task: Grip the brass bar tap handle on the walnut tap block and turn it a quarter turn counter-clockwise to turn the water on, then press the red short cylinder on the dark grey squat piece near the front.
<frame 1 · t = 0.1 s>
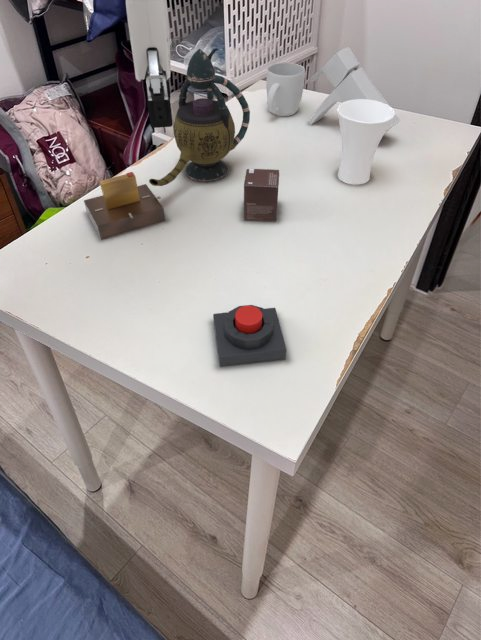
hand: (161, 112, 72), 19 cm above the table, tool pointing down, fingers open, 9 cm apart
cup: (353, 177, 96), on the table
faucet: (348, 132, 110), on the table
teapot: (196, 179, 95), on the table
mug: (280, 115, 117), on the table
red short cylinder: (248, 319, 62), point 4 cm above the table, slide at 0.1 cm
tap block: (126, 217, 86), on the table
tap handle: (120, 190, 82), point 6 cm above the table, hinge at 0.0°
box: (260, 213, 87), on the table
dark grey squat piece: (248, 341, 65), on the table
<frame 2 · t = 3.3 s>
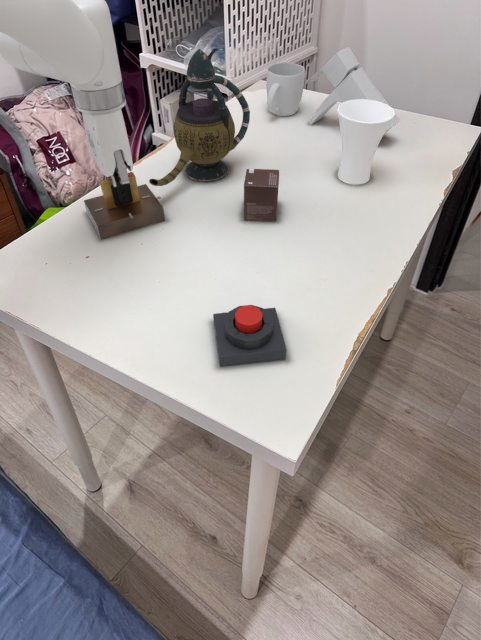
hand: (122, 200, 83), 4 cm above the table, tool pointing down, fingers closed
tap handle: (120, 190, 82), point 6 cm above the table, hinge at 0.0°, touching gripper
everything else where it was.
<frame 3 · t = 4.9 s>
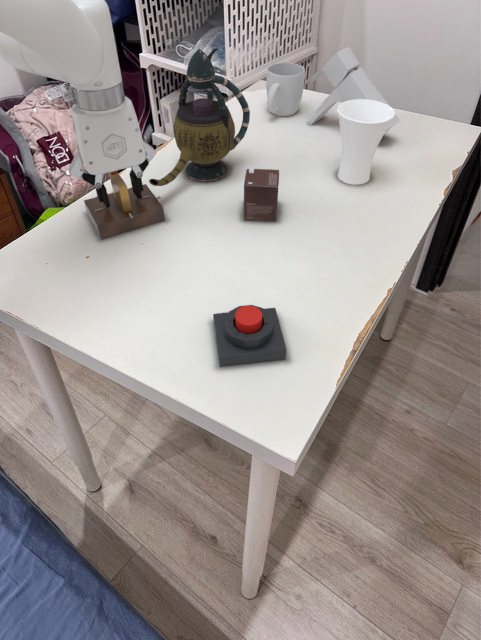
hand: (121, 198, 83), 4 cm above the table, tool pointing down, fingers open, 5 cm apart
tap handle: (120, 190, 82), point 6 cm above the table, hinge at 89.9°
everything else where it was.
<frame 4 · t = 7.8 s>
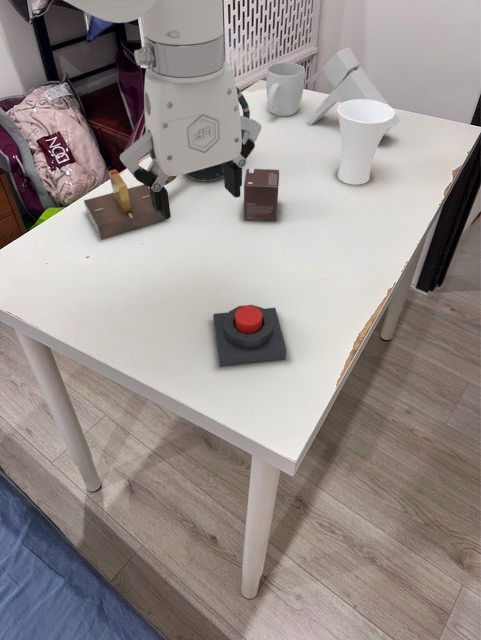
hand: (198, 202, 59), 17 cm above the table, tool pointing down, fingers open, 9 cm apart
nothing on the table moved.
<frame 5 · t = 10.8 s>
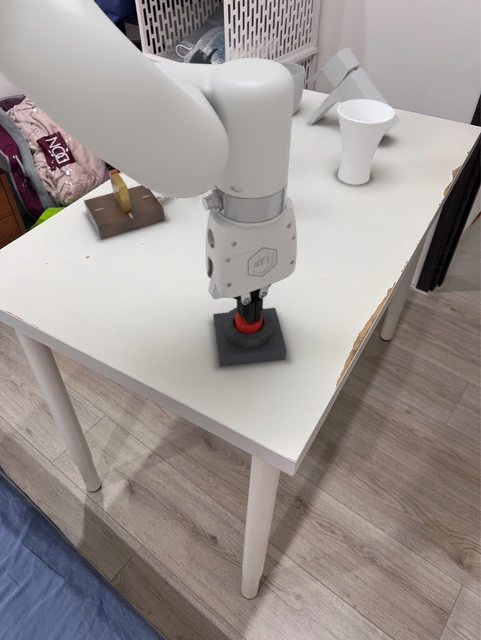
hand: (249, 316, 62), 5 cm above the table, tool pointing down, fingers closed
red short cylinder: (248, 321, 62), point 4 cm above the table, slide at -0.2 cm, touching gripper
everything else where it was.
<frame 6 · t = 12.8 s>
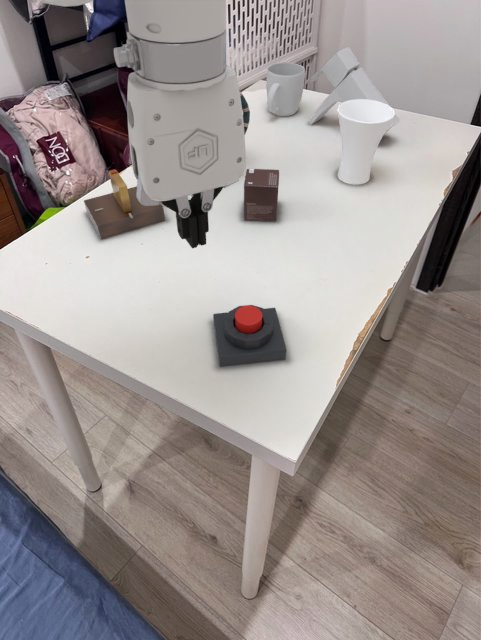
hand: (193, 239, 51), 19 cm above the table, tool pointing down, fingers closed
red short cylinder: (248, 319, 62), point 4 cm above the table, slide at 0.1 cm
everything else where it was.
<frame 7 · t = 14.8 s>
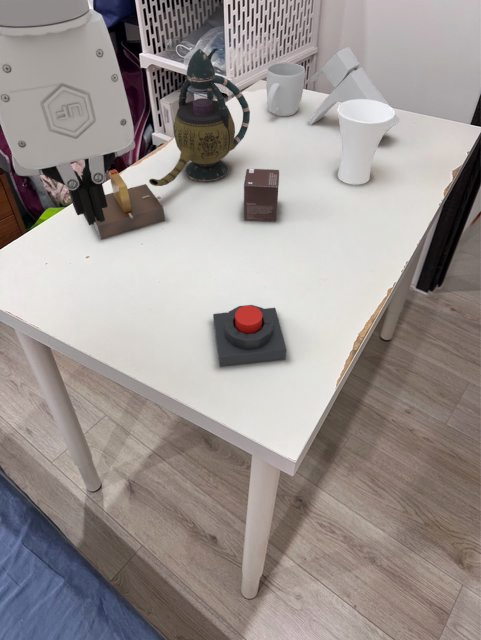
hand: (93, 215, 46), 23 cm above the table, tool pointing down, fingers closed
nothing on the table moved.
at the end: tap handle at +90° (first picture: +0°); red short cylinder pushed in 1.1 cm at the most during the clip, back to where it started at the end; red short cylinder slide at 0.1 cm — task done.
